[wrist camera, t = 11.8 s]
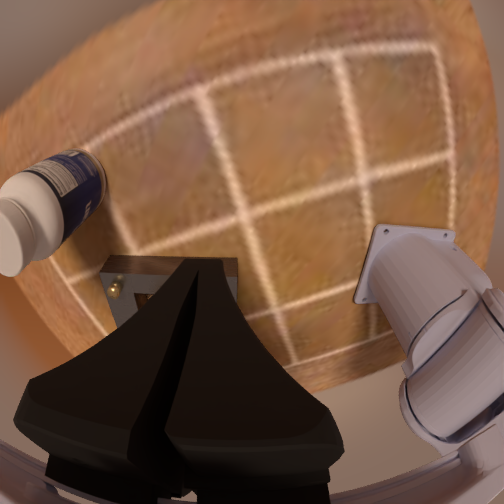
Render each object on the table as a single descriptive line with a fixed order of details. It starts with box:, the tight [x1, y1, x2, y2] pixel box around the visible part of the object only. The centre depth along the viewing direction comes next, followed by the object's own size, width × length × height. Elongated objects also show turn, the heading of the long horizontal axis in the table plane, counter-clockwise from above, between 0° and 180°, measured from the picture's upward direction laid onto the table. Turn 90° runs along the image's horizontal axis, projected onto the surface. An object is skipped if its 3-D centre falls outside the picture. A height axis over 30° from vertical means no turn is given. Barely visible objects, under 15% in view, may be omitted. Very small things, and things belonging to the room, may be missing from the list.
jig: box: [99, 255, 237, 328], centre depth 22 cm, size 11×9×4 cm
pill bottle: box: [0, 148, 106, 277], centre depth 13 cm, size 5×5×10 cm
